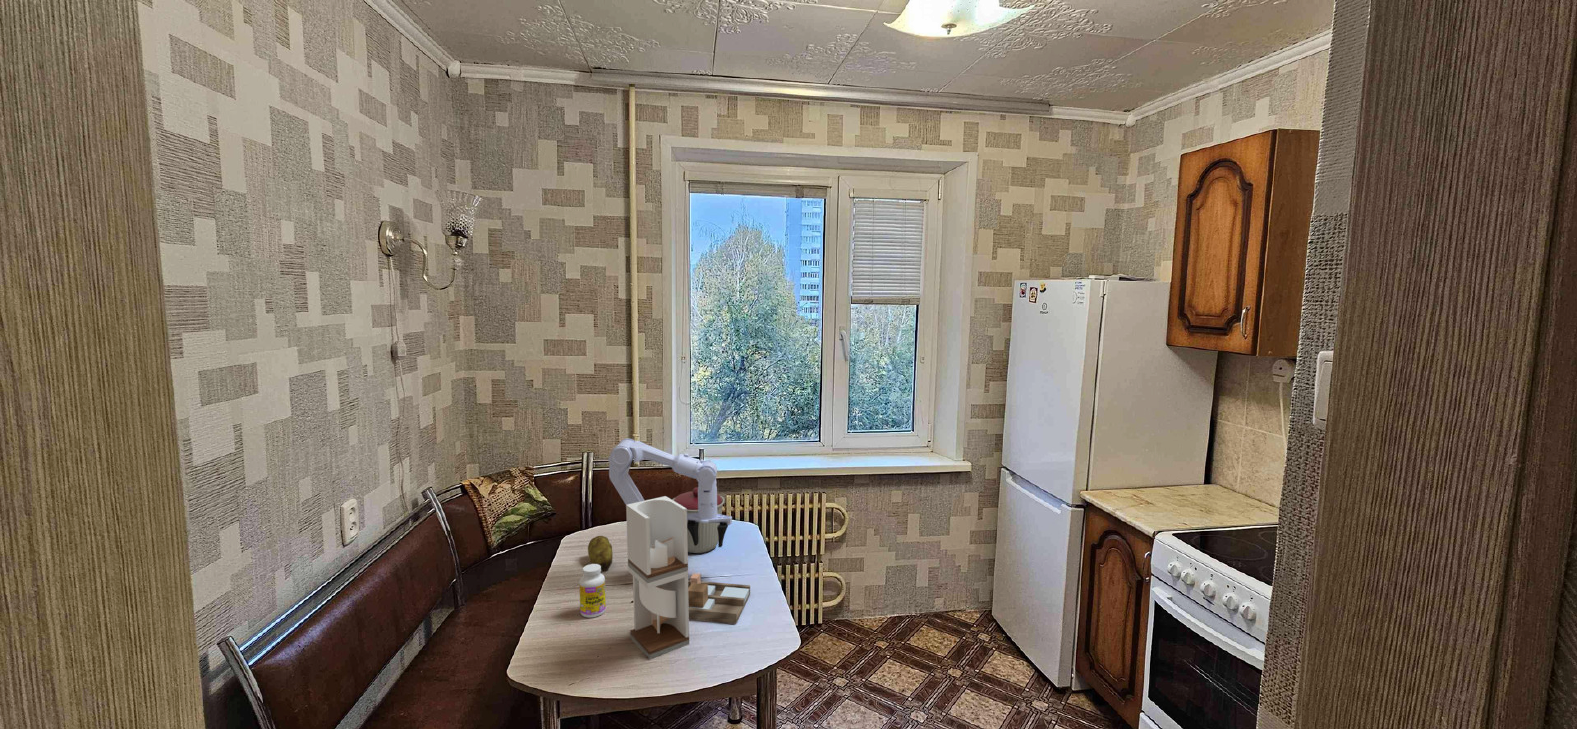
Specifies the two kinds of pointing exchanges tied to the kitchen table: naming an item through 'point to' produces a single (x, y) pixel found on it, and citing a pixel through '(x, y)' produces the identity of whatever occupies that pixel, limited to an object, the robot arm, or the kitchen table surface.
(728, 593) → the broken strip
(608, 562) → the potato
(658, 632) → the white tiered stand
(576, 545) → the kitchen table surface
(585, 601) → the supplement bottle
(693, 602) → the walnut block
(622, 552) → the kitchen table surface
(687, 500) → the canister
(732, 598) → the lane board
